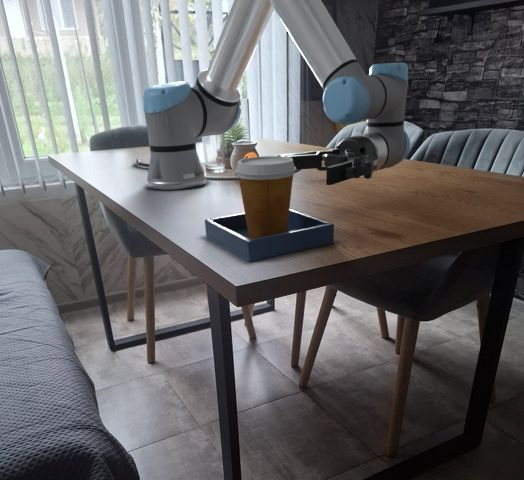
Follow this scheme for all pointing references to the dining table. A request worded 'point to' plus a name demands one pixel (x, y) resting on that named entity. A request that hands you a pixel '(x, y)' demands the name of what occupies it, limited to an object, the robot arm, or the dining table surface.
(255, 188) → the disposable coffee cup
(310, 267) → the dining table surface
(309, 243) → the tray
